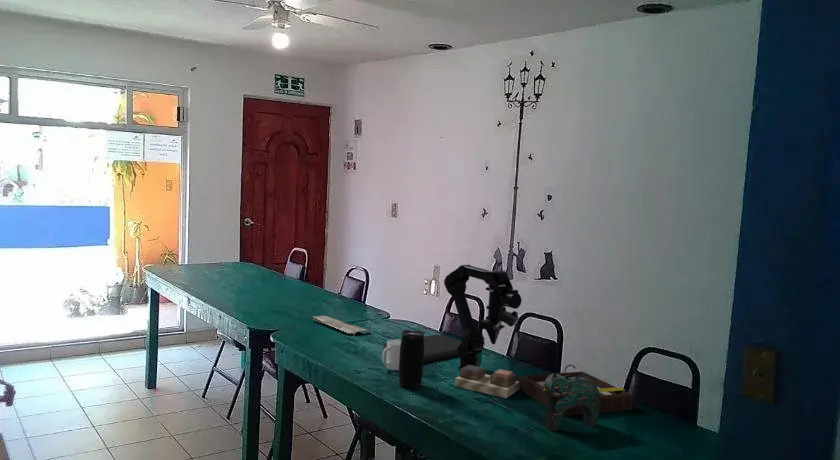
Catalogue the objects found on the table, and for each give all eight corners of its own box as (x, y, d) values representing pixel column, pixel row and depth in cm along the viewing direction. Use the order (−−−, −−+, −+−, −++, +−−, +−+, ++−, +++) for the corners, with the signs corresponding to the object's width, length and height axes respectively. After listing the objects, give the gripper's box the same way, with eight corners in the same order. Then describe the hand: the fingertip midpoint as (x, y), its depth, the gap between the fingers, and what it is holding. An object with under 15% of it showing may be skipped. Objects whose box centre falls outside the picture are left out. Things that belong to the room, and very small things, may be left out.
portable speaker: (422, 382, 236) (425, 330, 235) (420, 390, 227) (424, 336, 225) (399, 380, 236) (402, 328, 235) (396, 388, 227) (400, 334, 226)
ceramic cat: (548, 433, 194) (554, 368, 192) (536, 426, 200) (541, 362, 198) (602, 427, 202) (607, 364, 200) (588, 419, 208) (593, 358, 206)
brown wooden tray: (634, 391, 220) (560, 397, 209) (633, 410, 220) (558, 417, 209) (584, 368, 246) (515, 372, 235) (583, 385, 246) (514, 390, 235)
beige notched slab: (371, 334, 306) (371, 327, 306) (350, 337, 298) (350, 330, 297) (328, 320, 332) (328, 313, 331) (307, 322, 323) (308, 315, 323)
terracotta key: (493, 380, 230) (494, 372, 230) (499, 377, 234) (499, 369, 234) (507, 383, 227) (507, 375, 227) (512, 379, 232) (512, 371, 232)
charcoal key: (463, 376, 236) (463, 368, 236) (469, 373, 240) (469, 365, 240) (475, 379, 233) (476, 371, 233) (481, 376, 238) (482, 368, 238)
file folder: (436, 333, 299) (475, 345, 282) (435, 342, 299) (475, 355, 282) (382, 342, 276) (421, 356, 259) (381, 352, 276) (420, 366, 259)
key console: (454, 386, 234) (455, 370, 233) (469, 378, 244) (470, 363, 244) (506, 398, 224) (507, 381, 224) (518, 389, 234) (520, 373, 234)
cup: (411, 368, 253) (412, 343, 252) (389, 373, 244) (390, 347, 244) (396, 363, 259) (398, 338, 258) (374, 368, 250) (375, 342, 249)
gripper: (506, 310, 233) (503, 352, 234) (525, 303, 249) (522, 343, 251) (478, 305, 239) (475, 347, 240) (498, 299, 255) (495, 338, 256)
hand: (493, 344), depth 246 cm, fingers closed
